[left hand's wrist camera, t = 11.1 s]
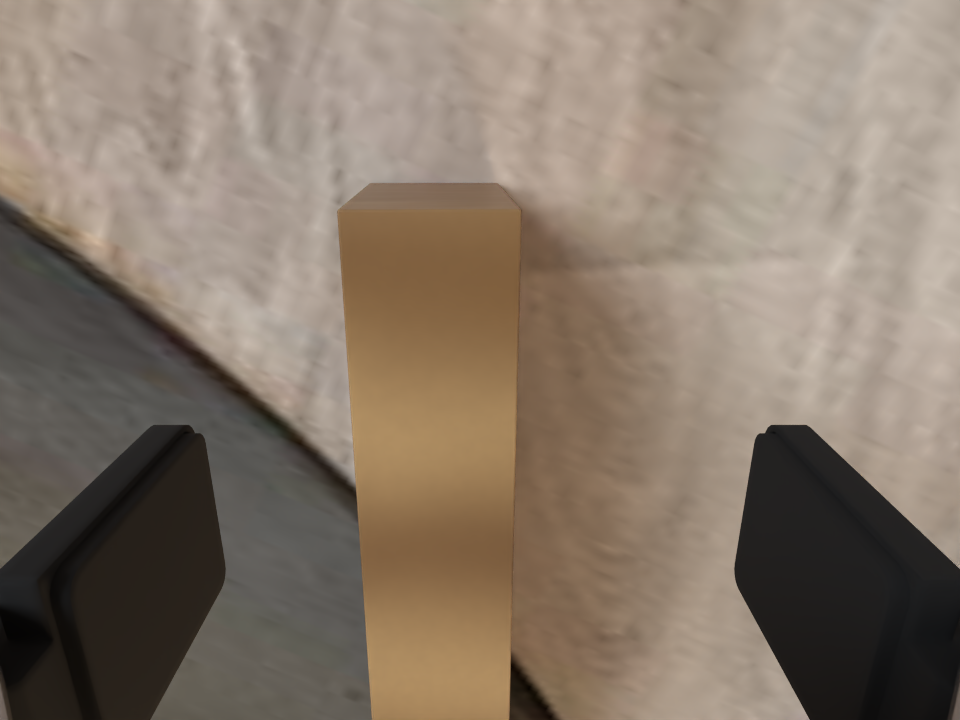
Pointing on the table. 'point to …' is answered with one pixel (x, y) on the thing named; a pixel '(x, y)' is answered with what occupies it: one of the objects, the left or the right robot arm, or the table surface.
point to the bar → (434, 440)
